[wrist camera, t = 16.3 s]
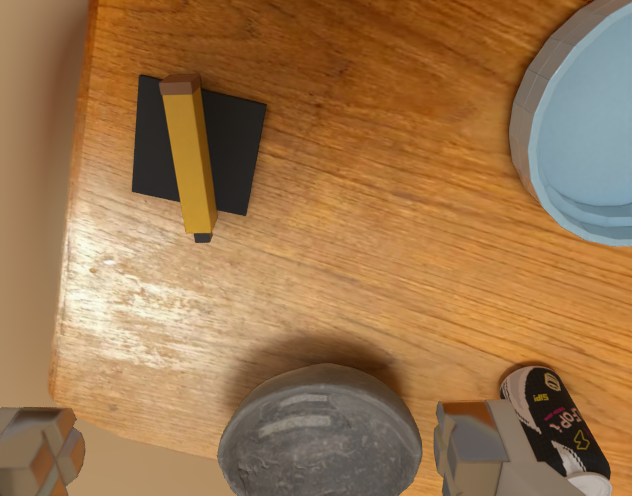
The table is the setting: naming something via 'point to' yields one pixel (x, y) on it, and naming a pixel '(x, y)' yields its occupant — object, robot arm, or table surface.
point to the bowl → (321, 437)
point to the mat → (223, 143)
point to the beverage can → (557, 429)
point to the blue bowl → (580, 124)
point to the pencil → (190, 153)
